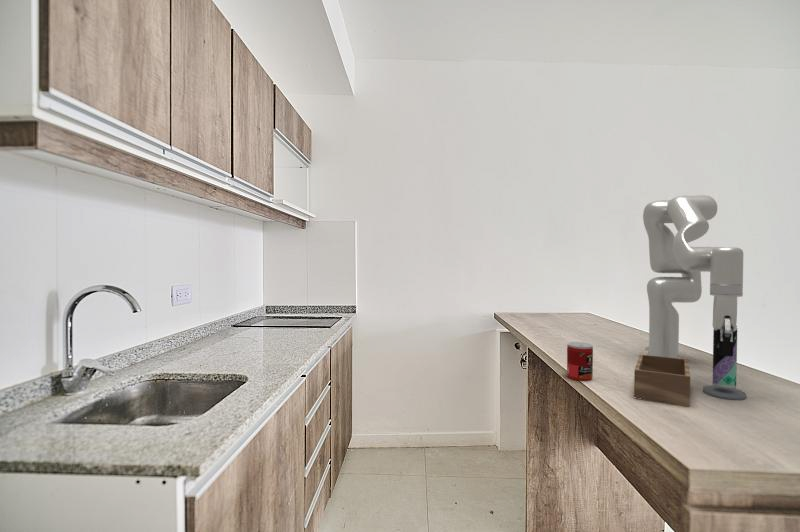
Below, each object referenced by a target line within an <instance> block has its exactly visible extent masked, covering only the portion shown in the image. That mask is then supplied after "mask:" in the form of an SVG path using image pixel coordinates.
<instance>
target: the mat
mask: <svg viewBox="0 0 800 532" xmlns="http://www.w3.org/2000/svg"><path fill="white" fill-rule="evenodd" d="M702 391H703V393H704V394H705V395H708V396H710V397H713V398H717V399H722V400H729V401H730V400H731V401H744V400H747V393H746V392H745V391H743V390H741V389H737V388H722V387H718V386H715V385H713V384H712V385H704V386H703V387H702Z"/></svg>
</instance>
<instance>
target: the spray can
mask: <svg viewBox="0 0 800 532" xmlns="http://www.w3.org/2000/svg"><path fill="white" fill-rule="evenodd" d="M737 327H738V326H737V324H736V331H734V332H733V356H722V355H719V341H720V329H717V331H716V330H715V329H714V328H713V336H712V337H713V338H712V340H713V342H712V344H713V345H712V385H714V386H718V387H722V388H735V389H737V375H738V374H737V367H738V366H737V365H738V364H737V362H738V328H737ZM733 329H734V327H733ZM722 330H725V328H722Z"/></svg>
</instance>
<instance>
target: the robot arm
mask: <svg viewBox="0 0 800 532" xmlns="http://www.w3.org/2000/svg"><path fill="white" fill-rule="evenodd" d="M717 213H718V204H717V202H716V199H714V197H712V196H710V195H705V194H703V195H702V194H701V195H699V194H698V195H679V196H676V197H673V198H672V199H668V200H667V199H666V200H662V199H661V200H655V201H651V202H649V203H647V204H646V205H645V207H644V209H643V213H642V220H643V222H642V223H643V226H644V228H645V229H644V230H645V232H646V234H647V237H648V249H649V264H650V268H651V270H652V272H654V273H657V274H681V276H658V277H657V276H656V277H653V278H651V279H650V280H648V282H647V285H646V292H647V293H646V294H647V298H648V299H647V300H648V307H649V310H648V312H649V313H648V315H649V317H648V318H649V319H648V320H649V321H648V322H649V324H648V327H649V328H648V346H645V347H644V351H647V354H646V355H651V356H660V357H670V358H679V359H683V358H682V357H680V356H679V350H680V349H679V347H680V346H679V345H680V342H679V340H680V339H679V338H680V337H679V336H680V335H679V334H680V314H679V312H678V311H677V309H676V308H675V307H674V305H673V304H675V303H683V304H684V303H686V304H687V303H696V302H698V301H700V298H701V297H702V292H703V290H702V288H703V287H702V274H701V272H702V273H703V272H704V273H705V272H706V273H707V272H709V295H710V296H713V303H712V305H713V306H712V307H713V308H712V328H713V330H714V329H715V330H716V331H717V329H720V341H719V355H722V356H733V332H734V331H736V325H737V321H738V319H737V318H738V298H740V297H741V298H742V297H743V295H744V292H743V290H744V250H743V249H742V248H740V247H730V246H729V247H727V246H726V247H725V246H691V245H689V243H691V242H694V241H696V240H699V239H701V238H702V237H704V235H706V234H707V233H708V232H709V229H710V224H709V221H711V220H712V219H713V218H715V217H716V215H717ZM666 224H673V225H674V226H675V229H676V231H677V233H676V234H674V233H673V231H672V230H671V229H670V228H669V226H667V225H666ZM733 327H734V329H733ZM722 328H725V330H722Z"/></svg>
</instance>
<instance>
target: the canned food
mask: <svg viewBox="0 0 800 532" xmlns="http://www.w3.org/2000/svg"><path fill="white" fill-rule="evenodd" d="M566 347H567V348H566V374H567V377H568V378H569V379H571V380H575V381H579V382H588V381H587V380H589V381H591V380H593V379H592V378H593V370H594V368H593V366H594V364H593V363H594V346H593V344H591V343H588V342H583V341H571V342H570V341H569V342H567V345H566Z"/></svg>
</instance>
